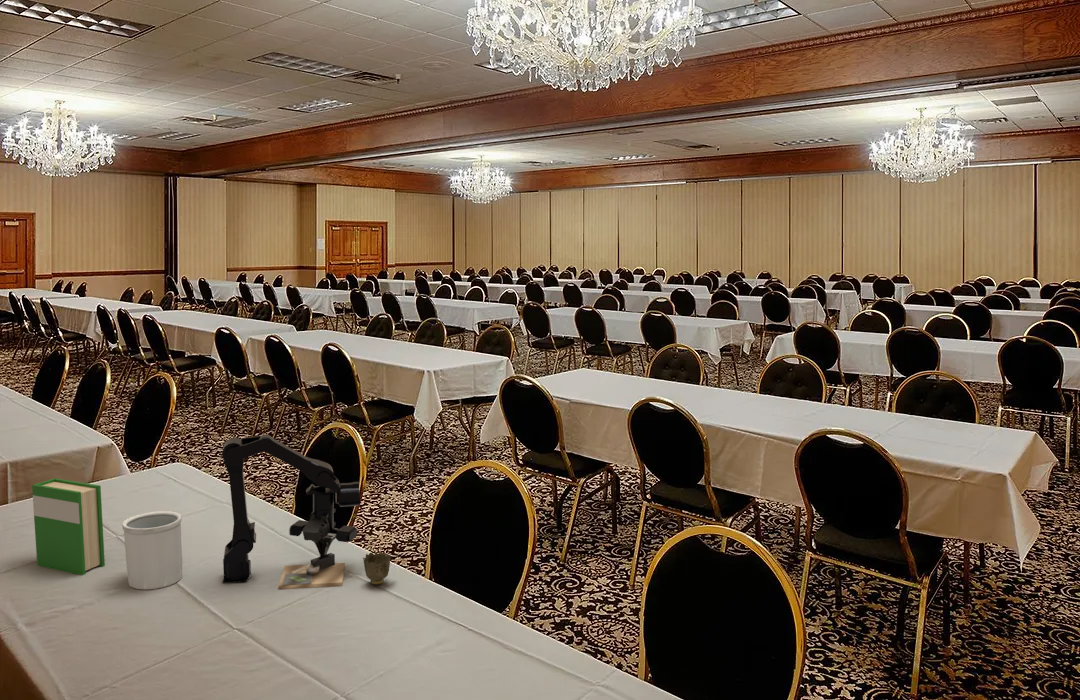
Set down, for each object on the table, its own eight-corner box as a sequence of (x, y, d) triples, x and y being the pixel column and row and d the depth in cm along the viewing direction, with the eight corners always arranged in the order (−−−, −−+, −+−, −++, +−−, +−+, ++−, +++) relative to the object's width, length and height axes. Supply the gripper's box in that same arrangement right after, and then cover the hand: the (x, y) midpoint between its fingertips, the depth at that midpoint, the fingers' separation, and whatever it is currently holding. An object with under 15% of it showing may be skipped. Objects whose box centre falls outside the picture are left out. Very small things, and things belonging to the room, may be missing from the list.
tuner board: (278, 589, 226) (278, 584, 226) (284, 569, 240) (284, 564, 239) (342, 585, 229) (342, 581, 229) (345, 566, 243) (345, 561, 242)
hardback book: (104, 565, 240) (100, 485, 236) (82, 575, 233) (77, 492, 229) (60, 556, 246) (55, 478, 242) (37, 565, 239) (32, 485, 236)
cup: (384, 590, 226) (384, 562, 225) (359, 588, 228) (359, 560, 227) (394, 579, 234) (394, 552, 232) (370, 577, 235) (369, 550, 234)
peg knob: (296, 581, 228) (296, 569, 227) (288, 577, 230) (288, 566, 229) (336, 566, 239) (336, 555, 238) (328, 563, 241) (328, 552, 240)
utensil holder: (113, 583, 228) (110, 522, 225) (160, 565, 241) (157, 507, 238) (149, 595, 221) (146, 532, 218) (195, 575, 234) (193, 516, 231)
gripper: (279, 512, 231) (279, 566, 234) (340, 520, 228) (340, 574, 230) (298, 500, 242) (299, 551, 244) (358, 507, 238) (357, 559, 241)
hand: (323, 559), depth 240 cm, fingers closed
